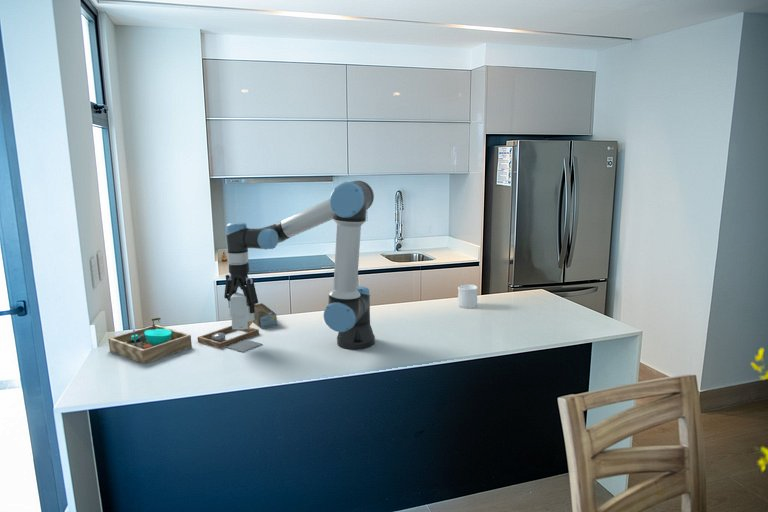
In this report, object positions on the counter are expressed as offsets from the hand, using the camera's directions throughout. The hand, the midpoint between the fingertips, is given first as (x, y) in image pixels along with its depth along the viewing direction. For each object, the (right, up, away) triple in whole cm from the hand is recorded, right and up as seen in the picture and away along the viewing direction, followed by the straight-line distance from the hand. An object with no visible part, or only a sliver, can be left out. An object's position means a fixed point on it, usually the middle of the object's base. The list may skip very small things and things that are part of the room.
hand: (242, 318), depth 205 cm
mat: (0, -11, +2) cm, 11 cm away
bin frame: (-9, -9, +12) cm, 17 cm away
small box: (0, -3, +1) cm, 3 cm away
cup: (+97, 0, +52) cm, 110 cm away
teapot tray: (-36, -12, +1) cm, 38 cm away
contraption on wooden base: (-36, -12, +1) cm, 38 cm away
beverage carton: (0, -6, +32) cm, 33 cm away
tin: (-12, -10, +8) cm, 17 cm away
